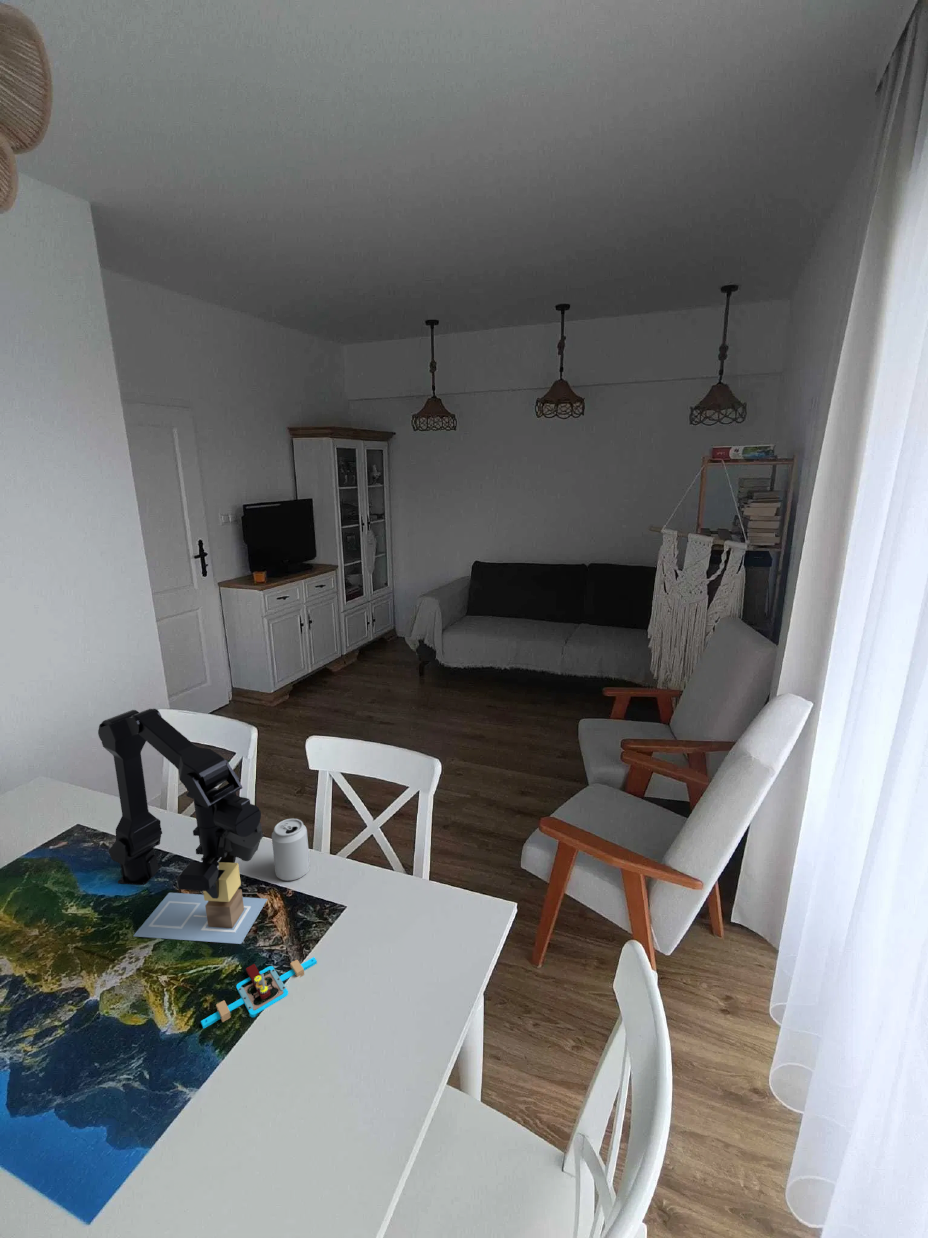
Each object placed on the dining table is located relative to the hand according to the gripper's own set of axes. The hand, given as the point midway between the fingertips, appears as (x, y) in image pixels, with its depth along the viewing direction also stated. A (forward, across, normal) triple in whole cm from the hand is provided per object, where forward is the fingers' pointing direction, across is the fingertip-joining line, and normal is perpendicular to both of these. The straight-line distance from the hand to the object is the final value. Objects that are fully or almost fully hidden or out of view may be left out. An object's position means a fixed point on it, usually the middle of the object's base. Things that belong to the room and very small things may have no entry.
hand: (222, 888), depth 115 cm
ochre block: (+1, 0, 0) cm, 1 cm away
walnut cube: (+7, 0, 0) cm, 7 cm away
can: (+8, +15, -8) cm, 19 cm away
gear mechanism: (+8, -15, -14) cm, 22 cm away
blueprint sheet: (+8, 0, +5) cm, 9 cm away
